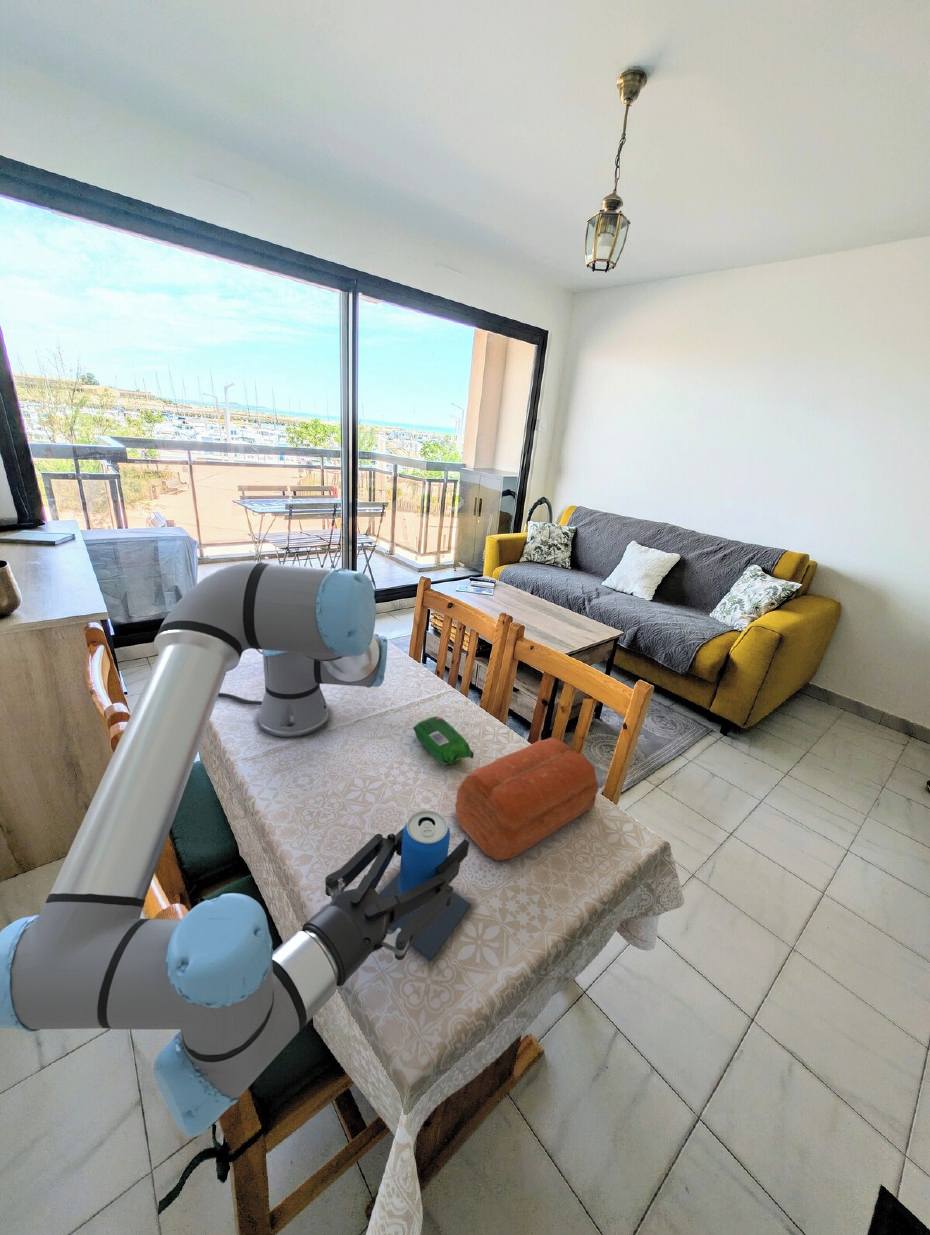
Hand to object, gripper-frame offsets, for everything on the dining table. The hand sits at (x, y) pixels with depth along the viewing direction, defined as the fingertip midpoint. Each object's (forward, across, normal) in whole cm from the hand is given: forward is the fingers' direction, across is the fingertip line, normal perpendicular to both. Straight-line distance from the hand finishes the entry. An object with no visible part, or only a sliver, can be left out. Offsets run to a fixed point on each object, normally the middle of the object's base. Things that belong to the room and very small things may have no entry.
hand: (446, 834), depth 70 cm
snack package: (+26, -21, -11) cm, 35 cm away
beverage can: (-5, 0, -7) cm, 8 cm away
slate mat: (-5, 0, -11) cm, 12 cm away
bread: (+23, +2, -11) cm, 26 cm away
